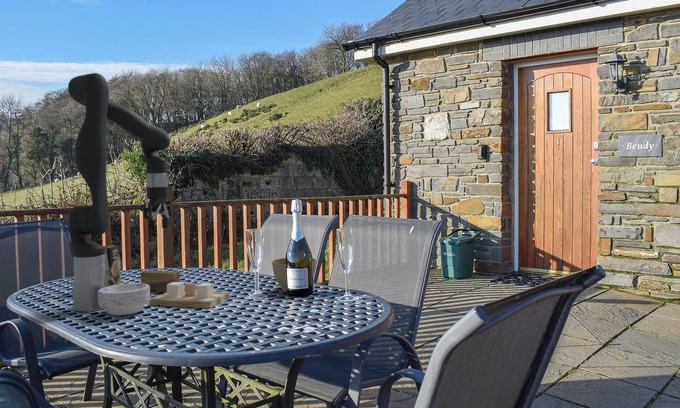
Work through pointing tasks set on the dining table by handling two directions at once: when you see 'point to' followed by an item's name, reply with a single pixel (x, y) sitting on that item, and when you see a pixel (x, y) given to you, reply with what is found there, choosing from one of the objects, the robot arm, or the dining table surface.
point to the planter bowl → (284, 271)
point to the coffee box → (112, 265)
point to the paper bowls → (124, 298)
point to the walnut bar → (159, 279)
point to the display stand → (190, 296)
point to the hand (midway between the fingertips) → (158, 229)
